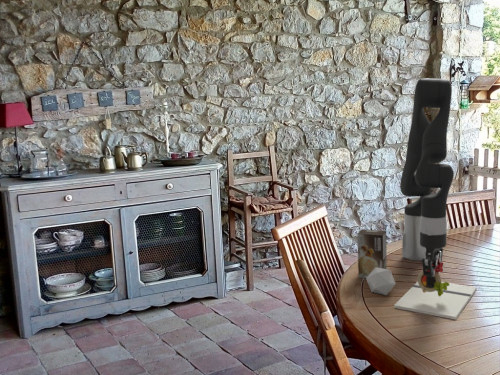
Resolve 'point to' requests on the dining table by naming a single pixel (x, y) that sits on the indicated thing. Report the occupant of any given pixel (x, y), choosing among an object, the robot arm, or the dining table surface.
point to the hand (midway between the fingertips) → (432, 284)
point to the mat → (437, 300)
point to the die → (380, 281)
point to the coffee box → (371, 251)
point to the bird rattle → (437, 285)
